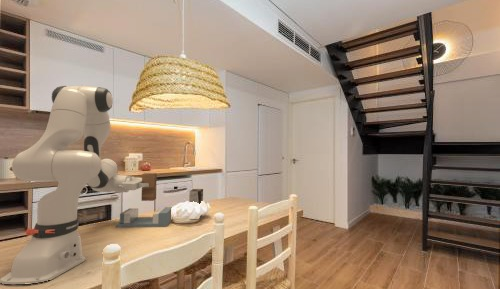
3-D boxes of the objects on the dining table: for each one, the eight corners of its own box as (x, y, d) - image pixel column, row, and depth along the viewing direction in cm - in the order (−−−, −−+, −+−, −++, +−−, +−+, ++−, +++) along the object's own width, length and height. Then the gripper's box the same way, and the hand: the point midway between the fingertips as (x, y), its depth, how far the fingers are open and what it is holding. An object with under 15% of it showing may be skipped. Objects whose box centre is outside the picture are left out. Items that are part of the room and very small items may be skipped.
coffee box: (199, 219, 140) (200, 191, 141) (188, 219, 141) (189, 191, 141) (203, 215, 150) (203, 188, 150) (192, 215, 150) (193, 188, 150)
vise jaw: (129, 223, 126) (130, 213, 127) (119, 223, 126) (120, 213, 126) (138, 217, 137) (138, 208, 138) (128, 217, 137) (129, 208, 137)
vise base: (166, 226, 127) (166, 213, 127) (115, 227, 125) (116, 213, 125) (172, 219, 140) (172, 207, 140) (126, 219, 138) (127, 207, 138)
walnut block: (153, 200, 131) (153, 174, 131) (141, 200, 130) (142, 174, 130) (156, 198, 136) (156, 173, 136) (144, 198, 135) (145, 173, 135)
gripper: (115, 180, 122) (144, 180, 123) (132, 175, 142) (156, 176, 143) (115, 193, 122) (144, 193, 123) (132, 186, 142) (156, 187, 143)
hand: (151, 184), depth 133 cm, fingers closed on walnut block, 5 cm apart
